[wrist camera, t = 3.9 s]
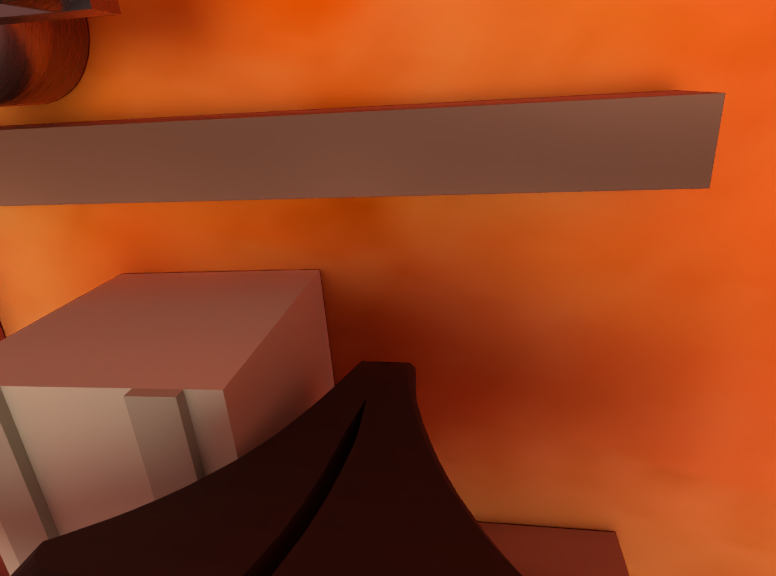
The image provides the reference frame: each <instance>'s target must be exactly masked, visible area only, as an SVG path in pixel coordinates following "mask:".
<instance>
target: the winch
mask: <svg viewBox="0 0 776 576" xmlns="http://www.w3.org/2000/svg"><path fill="white" fill-rule="evenodd" d="M119 14H121V13H120V8H119V4H118V0H0V107H6V106H23V105H40V104H47V103H51V102H54V101H56V100H58V99H60V98H62V97H64V96H65V95H66V94H68V93H69V92H70V91H71V90H72V89H73V88H74V87H75V85H76V84H77V82H78V81H79V79H80V78H81V75H82V73H83V71H84V68H85V65H86V61H87V56H88V46H89V37H88V26H87V21H86V17H96V16H108V15H119Z"/></svg>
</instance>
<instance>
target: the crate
mask: <svg viewBox="0 0 776 576" xmlns="http://www.w3.org/2000/svg"><path fill="white" fill-rule="evenodd" d="M334 386H335V385H334V377H333V370H332V362H331V354H330V347H329V339H328V331H327V324H326V316H325V308H324V301H323V293H322V285H321V277H320V270H275V271H230V272H184V273H139V274H120V275H118V276H117V277H115V278H113V279H111V280H109V281H108V282H106V283H104V284H102V285H100V286H99V287H97V288H95V289H93V290H91V291H90V292H88V293H86V294H84V295H82V296H81V297H79V298H77V299H75V300H73V301H72V302H70V303H68V304H66V305H64V306H63V307H61V308H59V309H57V310H55V311H54V312H52V313H50V314H48V315H46V316H45V317H43V318H41V319H39V320H37V321H36V322H34V323H32V324H30V325H28V326H26V327H25V328H23V329H21V330H19V331H17V332H16V333H14V334H12V335H10V336H8V337H7V338H5V339H3V340H1V341H0V555H1V557H2V559H3V561H4V564H5V566H6V568H7V570H8V572H9V574H10V576H11V575H12V574H13V572H14V571H15V570H16V569H17V568H18V567H19V566H20V565H21V564H22V563H23V562H24V561H25V560H26V558H27V557H28V556H29V555H30V554H31V553H32V552H33V551H34V550H35V549H36V548H37V547H38V546H39V545H40V544H41V543H42V542H43V541H45V540H49V539H52V538H55V537H58V536H61V535H64V534H67V533H70V532H73V531H75V530H78V529H81V528H84V527H87V526H90V525H93V524H96V523H98V522H101V521H104V520H107V519H110V518H113V517H115V516H118V515H121V514H123V513H126V512H128V511H131V510H133V509H136V508H138V507H141V506H143V505H145V504H148V503H150V502H153V501H155V500H157V499H160V498H162V497H164V496H166V495H168V494H171V493H173V492H175V491H177V490H179V489H182V488H184V487H186V486H188V485H190V484H192V483H194V482H196V481H197V480H199V479H201V478H203V477H205V476H207V475H209V474H211V473H213V472H214V471H216V470H218V469H220V468H222V467H224V466H226V465H228V464H230V463H231V462H233V461H235V460H237V459H238V458H240V457H242V456H243V455H245V454H246V453H248V452H249V451H251V450H253V449H254V448H256V447H257V446H259V445H261V444H262V443H264V442H265V441H267V440H268V439H270V438H271V437H272V436H274V435H275V434H277V433H278V432H279V431H281V430H282V429H283V428H285V427H286V426H287V425H289V424H290V423H291V422H292V421H294V420H295V419H296V418H298V417H299V416H300V415H301V414H303V413H304V412H305V411H306V410H308V409H309V408H310V407H312V406H313V405H314V404H315V403H316V402H317V401H318V400H320V399H321V398H322V397H323V396H324V395H325V394H326V393H328V392H329V391H330V390H331V389H332V388H333V387H334Z"/></svg>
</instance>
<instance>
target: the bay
mask: <svg viewBox="0 0 776 576" xmlns="http://www.w3.org/2000/svg"><path fill="white" fill-rule="evenodd" d="M724 98H725V93H717V92H698V91H679V90H673V91H655V92H636V93H617V94H598V95H579V96H560V97H541V98H522V99H503V100H484V101H465V102H446V103H427V104H408V105H389V106H370V107H351V108H332V109H313V110H295V111H276V112H257V113H238V114H219V115H200V116H181V117H162V118H143V119H124V120H105V121H86V122H67V123H48V124H29V125H10V126H0V206H22V205H62V204H102V203H142V202H182V201H222V200H262V199H302V198H342V197H382V196H422V195H462V194H501V193H541V192H581V191H621V190H661V189H701V188H709V187H710V181H711V175H712V169H713V163H714V157H715V151H716V146H717V140H718V134H719V128H720V122H721V116H722V110H723V104H724ZM3 339H5V337H4V334H3V331H2V328H1V326H0V341H1V340H3ZM478 524H479V525H480V526H481V528H482V529H483V531H484V532H485V533H486V534H487V535H488V537H489V538H490V539H491V540H492V542H493V543H494V544H495V545H496V546H497V548H498V549H499V550H500V551H501V553H502V554H503V555H504V556H505V557H506V558H507V559H508V560H509V561H510V563H511V564H512V565H513V566H514V567H515V568H516V569H517V570H518V571H519V572H520V574H521V575H522V576H629V573H628V570H627V566H626V563H625V560H624V557H623V554H622V551H621V548H620V544H619V541H618V538H617V535H616V532H605V531H591V530H577V529H563V528H550V527H536V526H522V525H508V524H494V523H481V522H478ZM0 576H10V574H9V572H8V570H7V568H6V566H5V564H4V561H3V559H2V557H1V555H0Z"/></svg>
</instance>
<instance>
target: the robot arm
mask: <svg viewBox="0 0 776 576" xmlns="http://www.w3.org/2000/svg"><path fill="white" fill-rule="evenodd" d="M11 576H522V575H521V574H520V572H519V571H518V570H517V569H516V568H515V567H514V566H513V565H512V564H511V563H510V561H509V560H508V559H507V558H506V557H505V556H504V555H503V554H502V553H501V551H500V550H499V549H498V548H497V546H496V545H495V544H494V543H493V542H492V540H491V539H490V538H489V537H488V535H487V534H486V533H485V532H484V531H483V529H482V528H481V526H480V525H479V524H478V522H477V521H476V519H475V518H474V516H473V515H472V514H471V512H470V511H469V509H468V508H467V507H466V505H465V504H464V502H463V501H462V499H461V498H460V497H459V495H458V493H457V492H456V490H455V488H454V487H453V485H452V483H451V482H450V480H449V478H448V477H447V475H446V473H445V471H444V469H443V467H442V465H441V464H440V462H439V460H438V458H437V455H436V453H435V451H434V449H433V447H432V444H431V442H430V440H429V437H428V435H427V432H426V430H425V427H424V424H423V421H422V418H421V415H420V411H419V408H418V405H417V401H416V373H415V367H414V366H413V365H412V364H411V363H401V362H368V361H362V362H361V363H360V364H358V365H357V366H356V367H355V368H354V369H353V370H352V371H351V372H349V373H348V374H347V375H346V376H345V377H344V378H343V379H342V380H341V381H340V382H339V383H337V384H336V385H335V386H334V387H333V388H332V389H331V390H330V391H329V392H328V393H326V394H325V395H324V396H323V397H322V398H321V399H320V400H318V401H317V402H316V403H315V404H314V405H313V406H312V407H310V408H309V409H308V410H306V411H305V412H304V413H303V414H301V415H300V416H299V417H298V418H296V419H295V420H294V421H292V422H291V423H290V424H289V425H287V426H286V427H285V428H283V429H282V430H281V431H279V432H278V433H277V434H275V435H274V436H272V437H271V438H270V439H268V440H267V441H265V442H264V443H262V444H261V445H259V446H257V447H256V448H254V449H253V450H251V451H249V452H248V453H246V454H245V455H243V456H242V457H240V458H238V459H237V460H235V461H233V462H231V463H230V464H228V465H226V466H224V467H222V468H220V469H218V470H216V471H214V472H213V473H211V474H209V475H207V476H205V477H203V478H201V479H199V480H197V481H196V482H194V483H192V484H190V485H188V486H186V487H184V488H182V489H179V490H177V491H175V492H173V493H171V494H168V495H166V496H164V497H162V498H160V499H157V500H155V501H153V502H150V503H148V504H145V505H143V506H141V507H138V508H136V509H133V510H131V511H128V512H126V513H123V514H121V515H118V516H115V517H113V518H110V519H107V520H104V521H101V522H98V523H96V524H93V525H90V526H87V527H84V528H81V529H78V530H75V531H73V532H70V533H67V534H64V535H61V536H58V537H55V538H52V539H49V540H45V541H43V542H42V543H41V544H40V545H39V546H38V547H37V548H36V549H35V550H34V551H33V552H32V553H31V554H30V555H29V556H28V557H27V558H26V560H25V561H24V562H23V563H22V564H21V565H20V566H19V567H18V568H17V569H16V570H15V571H14V572H13V574H12V575H11Z"/></svg>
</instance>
